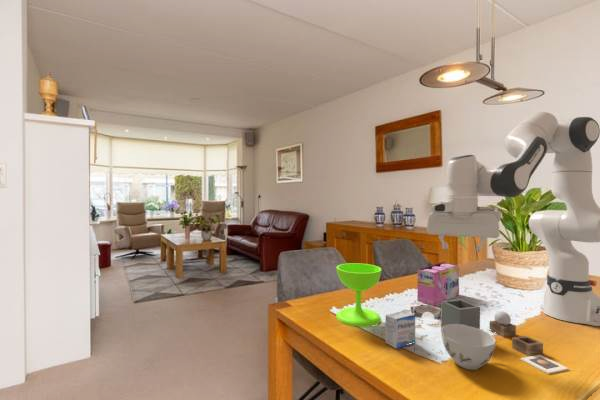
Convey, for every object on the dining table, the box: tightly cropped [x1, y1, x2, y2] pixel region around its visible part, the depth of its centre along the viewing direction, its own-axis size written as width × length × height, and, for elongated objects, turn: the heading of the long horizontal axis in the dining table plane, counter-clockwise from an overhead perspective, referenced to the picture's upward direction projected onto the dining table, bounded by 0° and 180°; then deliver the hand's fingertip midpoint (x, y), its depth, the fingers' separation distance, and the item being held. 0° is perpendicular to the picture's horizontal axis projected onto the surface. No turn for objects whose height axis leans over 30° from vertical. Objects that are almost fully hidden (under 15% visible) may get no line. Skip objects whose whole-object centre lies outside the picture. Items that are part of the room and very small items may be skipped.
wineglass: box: [335, 262, 382, 328], centre depth 110 cm, size 16×16×18 cm
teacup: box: [440, 324, 497, 371], centre depth 80 cm, size 15×12×8 cm
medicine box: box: [385, 310, 416, 350], centre depth 91 cm, size 8×4×9 cm, turn 117°
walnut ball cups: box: [489, 320, 544, 357], centre depth 92 cm, size 9×16×3 cm, turn 17°
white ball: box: [494, 310, 512, 326], centre depth 98 cm, size 4×4×4 cm
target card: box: [520, 354, 569, 375], centre depth 80 cm, size 7×7×1 cm
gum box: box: [417, 261, 460, 306], centre depth 133 cm, size 24×8×14 cm, turn 130°
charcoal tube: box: [440, 298, 481, 331], centre depth 96 cm, size 8×8×10 cm
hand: (461, 250), depth 96 cm, fingers open, 8 cm apart
